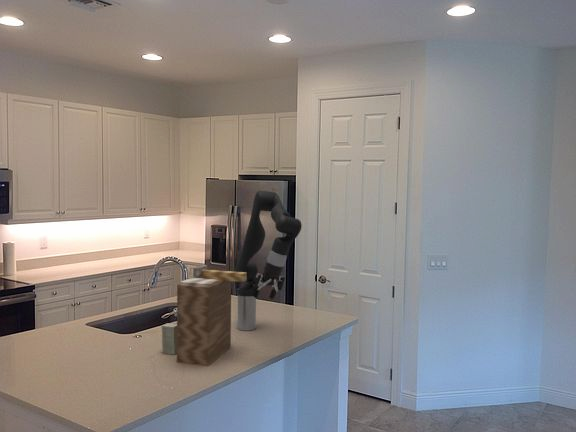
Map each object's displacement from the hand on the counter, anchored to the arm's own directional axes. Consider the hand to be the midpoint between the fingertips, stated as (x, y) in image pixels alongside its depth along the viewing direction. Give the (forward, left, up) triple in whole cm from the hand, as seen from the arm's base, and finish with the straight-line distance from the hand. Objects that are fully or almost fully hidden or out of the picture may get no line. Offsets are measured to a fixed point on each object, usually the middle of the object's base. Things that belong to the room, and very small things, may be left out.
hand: (263, 297), depth 215 cm
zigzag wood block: (-14, -21, -26) cm, 36 cm away
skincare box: (-22, -34, -26) cm, 48 cm away
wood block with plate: (-14, -14, +6) cm, 21 cm away
